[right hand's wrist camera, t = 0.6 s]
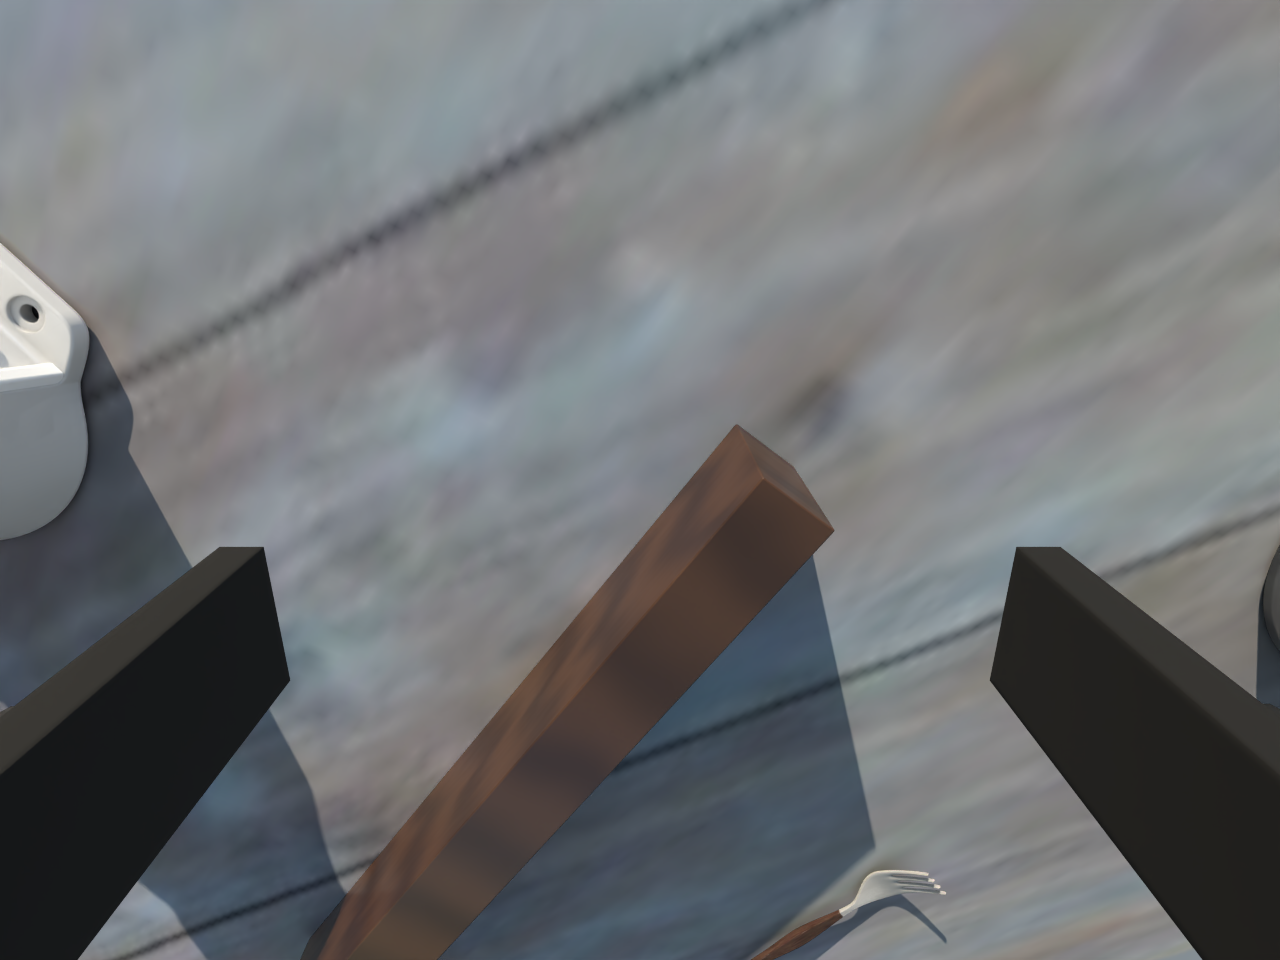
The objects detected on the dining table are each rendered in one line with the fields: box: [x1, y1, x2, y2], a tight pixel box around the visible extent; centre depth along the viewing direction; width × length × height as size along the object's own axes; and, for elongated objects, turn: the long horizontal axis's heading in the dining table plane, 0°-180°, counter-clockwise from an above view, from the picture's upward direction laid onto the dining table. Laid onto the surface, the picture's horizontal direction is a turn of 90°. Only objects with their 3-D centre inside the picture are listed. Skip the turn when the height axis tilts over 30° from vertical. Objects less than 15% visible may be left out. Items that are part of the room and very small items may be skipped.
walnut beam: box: [300, 425, 834, 960], centre depth 39 cm, size 46×4×8 cm, turn 143°
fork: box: [751, 870, 946, 960], centre depth 47 cm, size 3×16×2 cm, turn 130°
